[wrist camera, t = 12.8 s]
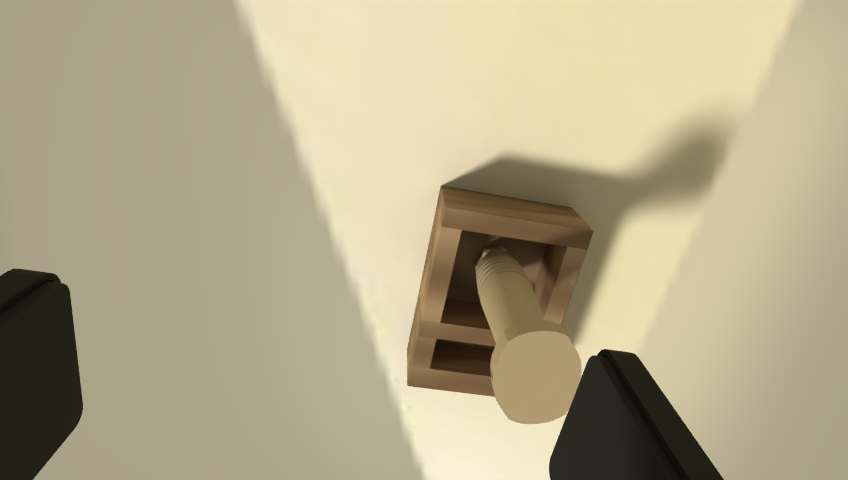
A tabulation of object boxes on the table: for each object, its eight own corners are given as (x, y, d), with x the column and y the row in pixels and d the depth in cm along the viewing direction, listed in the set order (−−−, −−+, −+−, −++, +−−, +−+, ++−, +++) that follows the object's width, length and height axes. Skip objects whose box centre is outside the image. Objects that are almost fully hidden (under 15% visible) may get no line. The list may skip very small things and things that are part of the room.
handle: (522, 222, 40) (583, 327, 26) (522, 291, 42) (578, 420, 28) (462, 227, 40) (492, 335, 26) (466, 296, 42) (495, 427, 28)
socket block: (440, 185, 39) (445, 207, 35) (571, 208, 40) (593, 231, 36) (407, 349, 45) (407, 385, 41) (521, 364, 47) (534, 401, 42)
